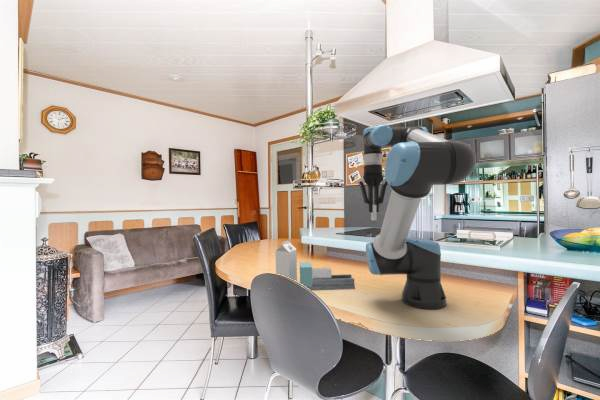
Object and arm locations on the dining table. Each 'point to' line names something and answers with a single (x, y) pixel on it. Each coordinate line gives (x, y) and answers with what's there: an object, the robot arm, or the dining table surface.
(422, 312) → the dining table surface
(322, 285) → the guide channel
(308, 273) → the socket housing
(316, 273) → the sliding block
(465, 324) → the dining table surface
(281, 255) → the milk carton
